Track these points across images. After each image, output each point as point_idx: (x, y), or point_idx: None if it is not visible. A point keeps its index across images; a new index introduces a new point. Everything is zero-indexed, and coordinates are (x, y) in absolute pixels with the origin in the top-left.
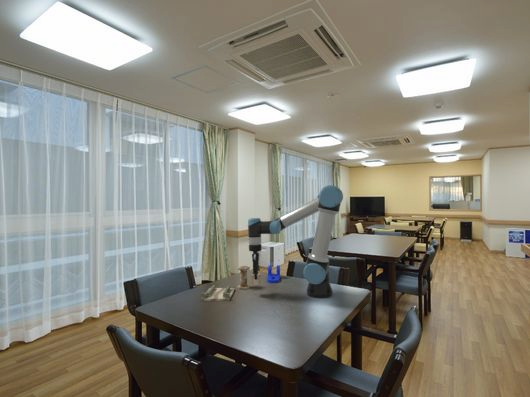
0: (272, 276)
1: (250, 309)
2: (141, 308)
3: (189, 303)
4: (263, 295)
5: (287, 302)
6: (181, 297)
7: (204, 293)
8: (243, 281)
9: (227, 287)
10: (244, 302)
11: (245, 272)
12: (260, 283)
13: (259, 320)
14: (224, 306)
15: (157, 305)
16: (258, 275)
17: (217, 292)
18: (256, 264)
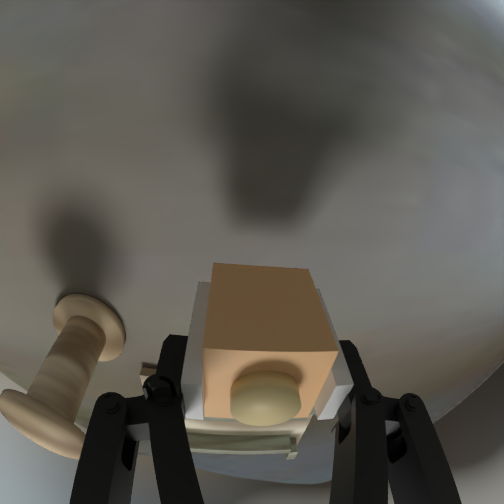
0: None
1: (458, 276)
2: (320, 482)
3: (315, 448)
4: (257, 198)
5: (421, 53)
6: (252, 467)
7: (294, 455)
8: (93, 361)
9: (208, 418)
10: (370, 312)
11: (61, 400)
12: (263, 269)
13: None
14: (386, 373)
15: (309, 476)
16: (331, 359)
17: (224, 424)
18: (452, 496)
